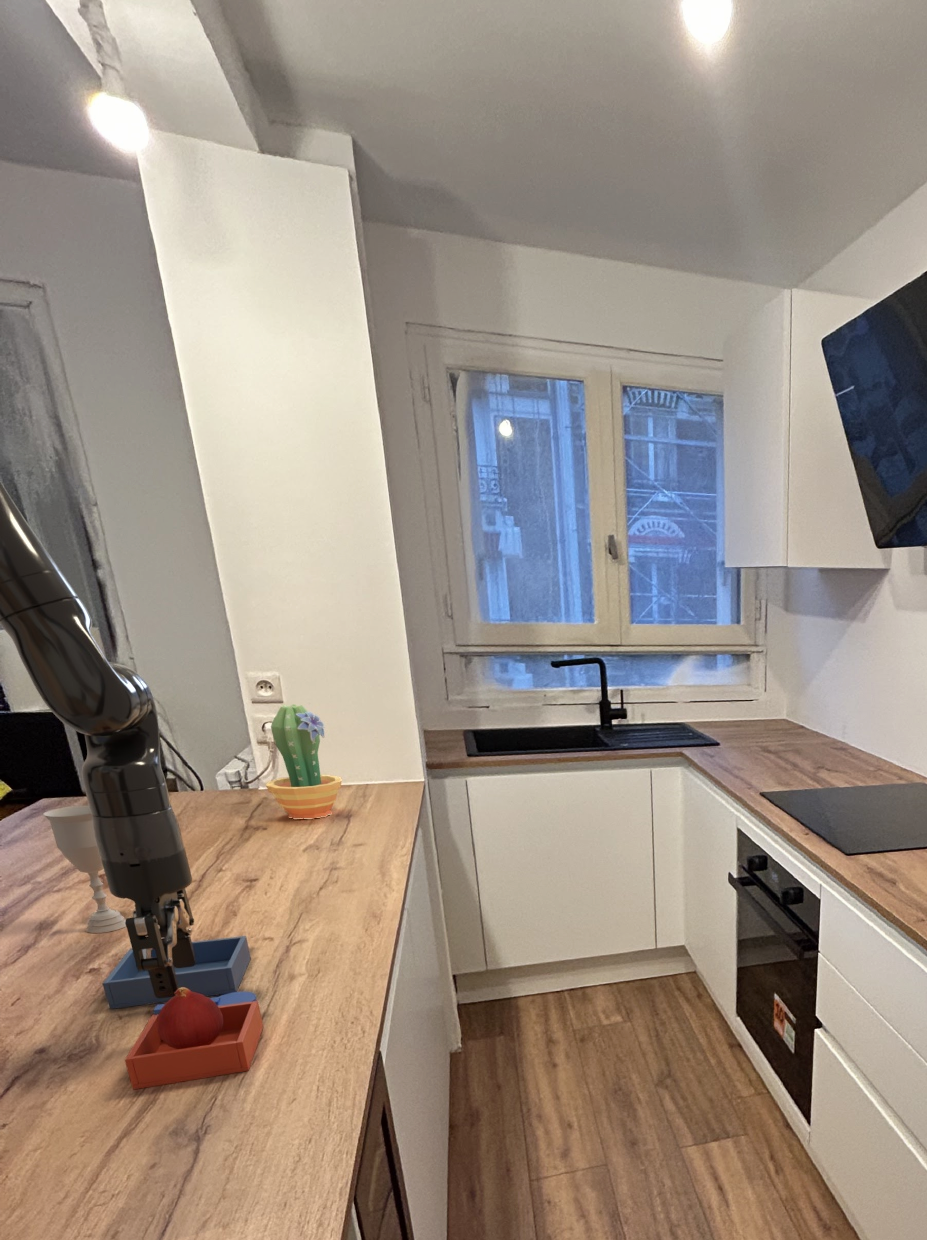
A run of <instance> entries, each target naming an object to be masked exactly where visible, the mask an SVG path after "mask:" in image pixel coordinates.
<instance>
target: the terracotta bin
mask: <svg viewBox="0 0 927 1240" xmlns="http://www.w3.org/2000/svg"><path fill="white" fill-rule="evenodd" d="M218 1007H219V1009H220V1010H221V1013H222V1015H223V1026H222V1029H221V1031H220V1034H219V1036H218V1037H217V1038H216V1039H215V1040H214V1042H212V1043H211V1044H210V1045H204V1046H198V1047H191V1048H185V1049H176V1048H173V1047H170V1046H168V1045H167V1044H166V1043H165V1042H164V1041H163V1040H162V1039H161V1038H160V1036H159V1034H158V1031H157V1019H158V1016H159V1015H158V1014H157V1015H154V1014H152V1015H151V1016H150V1018H149V1019H148V1021H147V1023H146V1025H145V1027H144V1028H143V1030H142V1031H141V1033H140V1034H139V1036H138V1038H137V1039H136V1041H135V1042H134V1044H133V1046H132V1048H131V1049H130V1051H129V1052H128V1054H127V1056H126V1057H125V1059H124V1063H125V1066H126V1069H127V1072H128V1073H127V1074H128V1077H129V1080H130V1084H131V1088H132V1090H139V1089H145V1088H150V1087H158V1086H163V1085H169V1084H175V1083H182V1082H187V1081H194V1080H199V1079H200V1080H201V1079H206V1078H210V1077H219V1076H224V1075H228V1074H237V1073H241V1072H248V1071H250V1067H251V1065H252V1062H253V1059H254V1057H255V1053H256V1050H257V1048H258V1044H259V1042H260V1039H261V1036H262V1032H263V1029H264V1023H263V1018H262V1013H261V1009H260V1005H259V1001H258V1000H257V1001H253V1002H244V1003H237V1004H230V1005H222V1006H218Z"/></svg>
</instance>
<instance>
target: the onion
mask: <svg viewBox="0 0 927 1240" xmlns="http://www.w3.org/2000/svg"><path fill="white" fill-rule="evenodd" d="M174 993H175V994H176V996H174V997H173V998H171V999H170V1000H169V1001H168V1002H165V1003H164V1004H165V1005H164V1006H163V1007H162V1009H161V1011H160V1013H159V1016H158V1019H157V1031H158V1034H159V1036H160V1038H161V1039H162V1040H163V1041H164V1042H165V1043H166V1044H167V1045H168V1046H170V1047H173V1048H176V1049H185V1048H191V1047H198V1046H204V1045H210V1044H211V1043H212V1042H214V1040H215V1039H216V1038H217V1037H218V1036H219V1034H220V1031H221V1029H222V1026H223V1015H222V1013H221V1010H220V1009H219V1007H218V1006H217V1004H216V1003H215V1002H214V1001H213V1000H211V999H210V998H211V997H209V996H204V995H202V994H199V993H196V992H192V991H190V990H189V989H187V988H184V987H181V988H179V989H177V991H176V992H174Z"/></svg>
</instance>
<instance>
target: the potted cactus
mask: <svg viewBox="0 0 927 1240" xmlns="http://www.w3.org/2000/svg"><path fill="white" fill-rule="evenodd" d="M324 728H325V724H324V723H323V721H322V720H321V718H320V717H319V716H318V715H317V714H314V713H312V712H310V711H309V710H307V709H306V708H305V707H304V706H303V705H296V704H291V705H290V706H288V705H285V704H284V705H282V706H280V707H279V708H278V710H277V713H276V714H275V716H274V718H273V720H272V722H271V724H270V730H271V734H272V738H273V740H274V745H275V747H276V748H277V750H278V752H279V753H280V755H281V756H282V760H283V763H284V765H285V768H286V771H287V774H288V775H287V776H286V777H279V778H275V779H272V780H269V781H267V782H266V784H265V787H266V789H267V791H268V793H270V794H271V793H272V795H273V797H274V799H275V800H276V802H277V803H278V805H279V806H280V807H281V808H282V809H283V810H284V811H285V812H287V813H288V818H289V817H292V818H303V819H304V818H316V817H321V816H326V815H328V814H331V812H332V810H331V809H332V807H333V806H334V805H335V802H336V801H337V796H338V791H339V789H340V788H342V777H340V776H336V775H332V774H331V775H329V774H328V775H327V774H321V769H320V762H319V747H320V742H321V739H320V736H321V738H323V739H324V738H325V730H324Z"/></svg>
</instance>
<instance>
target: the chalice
mask: <svg viewBox="0 0 927 1240" xmlns="http://www.w3.org/2000/svg"><path fill="white" fill-rule="evenodd" d="M42 815H43V816H44V817H45V818H46V819H47V820H48V821H49V823H50V827H51V830H52V833H53V837H54V841H55V844H56V847H57V849H58V850H59V851H60V852H61V854H62V855H63V856H64V857H65V859H67V860H68V861H69V863H71V864H72V865H73V866H74V867H75V868H76V869H77V871H79V873H85V874H87V875H88V877H89V878H90V883H89V887H90V888H91V889H92V890H93V895H92V896H91V899H92V900H95V903H96V904H97V909H95V912H93V913H91V914H90V915H89V917H88V922H87V925H88V926H86V930H85V931H86V933H90V934H103V933H111V932H115V931H118V930H121V929H123V928H127V926H126V924H125V922H126V918H125V916H123V915H122V914H121V912H120V911H118V910H116V909H110V907H108V905H107V904H106V898H107V897H108V895H107V894H106V893H104V891H103V885H104V883H103V882H102V881H101V879H100V877H99V872H100V871H102V870H104V868H103V864H102V861H101V857H100V853H99V850H98V846H97V843H96V839H95V835H94V827H93V818H92V813H91V810H90V806H89V804H87V805H75V806H66V807H60V808H55V809H49V810H47V811H44V812H43V814H42Z"/></svg>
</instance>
